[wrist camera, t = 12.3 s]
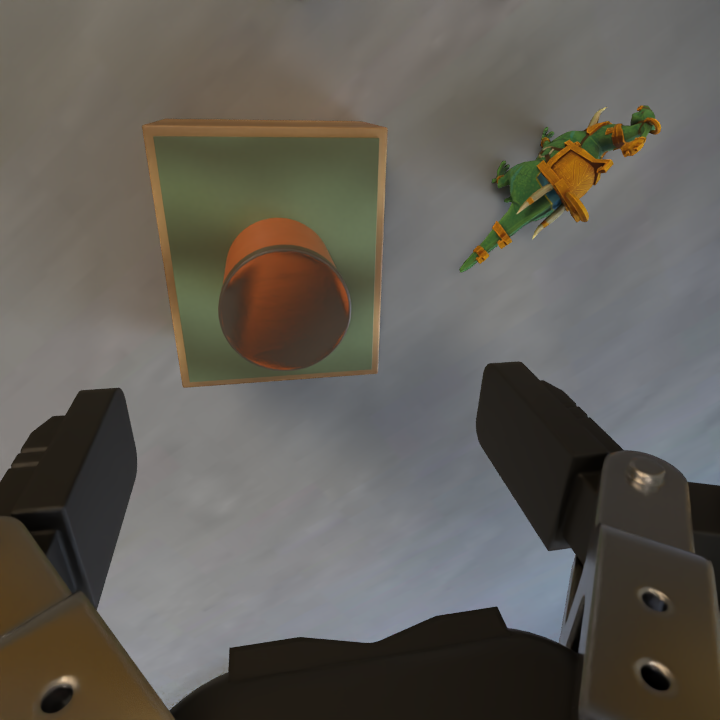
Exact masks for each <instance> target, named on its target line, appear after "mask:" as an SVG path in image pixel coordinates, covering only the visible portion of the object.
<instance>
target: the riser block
mask: <svg viewBox="0 0 720 720" xmlns="http://www.w3.org/2000/svg"><path fill="white" fill-rule="evenodd" d="M142 129H143V136H144V142H145V148H146V155H147V161H148V168H149V174H150V180H151V187H152V193H153V199H154V206H155V212H156V219H157V225H158V231H159V238H160V244H161V251H162V257H163V263H164V270H165V276H166V282H167V289H168V295H169V302H170V308H171V314H172V321H173V327H174V334H175V340H176V346H177V353H178V359H179V365H180V372H181V378H182V385H183V387H184V388H185V387H199V386H213V385H227V384H240V383H254V382H268V381H282V380H295V379H309V378H323V377H337V376H350V375H364V374H377V373H378V360H379V334H380V309H381V283H382V257H383V232H384V206H385V180H386V155H387V128H386V127H382V126H378V125H374V124H370V123H366V122H362V121H302V120H222V119H163V120H159V121H156V122H152V123H149V124H145V125H143V126H142ZM269 218H286V219H292V220H295V221H298V222H300V223H302V224H304V225H306V226H307V227H309V228H310V229H312V230H313V231H314V232H315V233H316V234H317V235H318V236H319V237H320V238H321V240H322V241H323V243H324V244H325V246H326V248H327V250H328V252H329V254H330V256H331V258H332V260H333V262H334V264H335V266H336V268H337V270H338V272H339V273H340V274H341V276H342V278H343V280H344V282H345V284H346V286H347V289H348V291H349V295H350V300H351V318H350V323H349V327H348V329H347V332H346V334H345V336H344V338H343V340H342V341H341V343H340V344H339V345H338V347H337V348H336V349H335V350H334V351H333V352H332V353H331V354H330V355H329V356H327V357H326V358H325V359H323V360H322V361H320V362H318V363H316V364H315V365H312V366H310V367H307V368H304V369H300V370H295V371H273V370H269V369H264V368H262V367H259V366H256V365H254V364H252V363H250V362H248V361H247V360H245V359H244V358H242V357H241V356H240V355H239V354H238V353H237V352H236V351H235V350H234V349H233V348H232V347H231V346H230V344H229V343H228V341H227V340H226V338H225V336H224V334H223V332H222V329H221V326H220V322H219V317H218V304H219V296H220V292H221V288H222V285H223V279H224V273H225V266H226V259H227V255H228V252H229V249H230V247H231V245H232V243H233V242H234V240H235V239H236V237H237V236H238V235H239V234H240V233H241V232H242V231H243V230H244V229H246V228H247V227H248V226H250V225H252V224H254V223H256V222H258V221H261V220H264V219H269Z"/></svg>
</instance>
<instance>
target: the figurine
mask: <svg viewBox="0 0 720 720" xmlns="http://www.w3.org/2000/svg"><path fill="white" fill-rule="evenodd" d="M605 109H606V107H605V108H603V109H600V110H599V111H598V112H596V114H595V115H594V117H593V118H592V120H591V122H590V124H589V126H588V128H587V129H585V130H584V131H570V132H566V133H565V134H563V135H561V136H559V137H558V138H556V139H555V140H553V141H552V142H550V140H549V138H551V137H552V136H553V135H554V132H550V133H549V134H547V135H546V133H547V131H548V127H546V128H545V129H544V131H543V135H542V138H541V140H542V142H541V145H540V146H542V147H541V148H543V149H542V150H541V152H540V153H539V155H538V157H537V159H536V160H535V161H529V162H523V163H520V164H517V165H516V166H514V167H513V168H511V169H510V170H509V171H507V170H508V169H509V167H510V165H506V166H505V167H504V165H505V164H506V161H503V162H502V163H501V165H500V167H499V168H498V171H497V178H495V179H493V180H492V183H496V182H497V184H498V185H497V186H498V188H501V187H504V186H507V185H510V197H509V198H506V199H505V200H504V202H506V203H508V202H512V204H511V206H510V208H509V210H508V212H507V213H506V214H505V215H504V216H503V217H502V219H501V220H500V221H499V222H497V221H496V223H495V224H494V226H493V227H492V231H491V232H490V233H489V235H488V236H487V237H486V239H485V240H484V241H483V242H482V243H481V244H480V245H479V246H477V247H476V248H475V249H474V250H473V253H472V254H471V255H470V257H469V258H468V259H467V260H466V261H465V262H464V264H463V265H462V266H461V268H460V269H459V270H460V272H464V271H466V270H468V269H470V268H471V267H472V266H473V265H474V264H476V263H477V262H478V263H480V264H481V263H482V262H484V261H485V260H486V259H487V258H488V257H489V254H488V253H489V252H490V251H491V250H493V249H494V248H495V247H497V246H498V245H499V247H500V248H501V249H502V248H503V247H505V246H506V245H508V244H509V243H511V242H512V240H511V239H510V237H511V236H512V235H513V234H515V233H516V232H517V231H518V230H519V229H521V228H522V227H523V226H525V225H526V224H528V223H530V222H531V221H537V220H540V219H542V218H544V217H547V216H548V217H547V218H546V219H545V220H544V221H543V222H542V223H541V224H540V225H539V226H538V227H537V229H536V230H535V232H534V236H533V238H534V237H535V236H536V235H537V234H538V233H539V232H540V231H541V230H542V229H543V228H545V227H546V226H548V225H549V224H550V223H552V222H553V221H554V220H555V219H556V218H558V217H559V216H560V215H561V214H562V213H563V212H564V211H565V210H566V211H570V214H571V216H572V217H573V218H574V219H575V221H576V222H578V221H580V220H581V221H582V222H587V221H588V218H589V215H588V212H587V210H586V208H585V207H584V205H583V204H582V203H581V201H580V200H579V199H580V198H581V197H582V196H583V195H585V194H586V192H587V191H588V190H589V189H590V188H591V186H592V185H596V184H597V182H598V181H599V180H600V174H601V173H606V172H607V171H608V169H609V168H610V167H611V166H612V165H613V162H612V160H605V159H602V158H603V156H604V155H605V154H606V153H607V152H608V151H610V150H613V149H614V150H616V149H621V150H622V153H623V155H624V157H626V156H633V155H634V154H636V153H637V152H638V151H639V150H640V149H641V148H642V147H643V146H644V143H645V141H646V136H647V135H648V133H651V134H654V135H656V134H658V133H660V130H661V125H660V123H659V122H658V121H657V120H656V119H655V115H654V113H653V112H652V110H651V109H650V108H649V106H640V107H638V108H637V111H639V110H640V111H639V112H636V113H634V114H632V119H631V126H623V125H622V124H612V123H610V122H609V121H606V122H602V123H598V120H599V116H600V114H601V113H602V112H603V111H604V110H605ZM597 123H598V124H597ZM654 129H656V130H654ZM639 136H640V137H639ZM614 150H613V151H614ZM503 167H504V168H503ZM506 171H507V172H506ZM532 240H533V239H532Z"/></svg>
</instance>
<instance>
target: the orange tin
mask: <svg viewBox="0 0 720 720" xmlns="http://www.w3.org/2000/svg"><path fill="white" fill-rule="evenodd" d="M218 317H219V322H220V326H221V329H222V332H223V334H224V336H225V338H226V340H227V341H228V343H229V344H230V346H231V347H232V348H233V349H234V350H235V351H236V352H237V353H238V354H239V355H240V356H241V357H242V358H244V359H245V360H247V361H248V362H250V363H252V364H254V365H256V366H259V367H262V368H264V369H269V370H273V371H295V370H300V369H304V368H307V367H310V366H312V365H315V364H316V363H318V362H320V361H322V360H323V359H325V358H326V357H327V356H329V355H330V354H331V353H332V352H333V351H334V350H335V349H336V348H337V347H338V345H339V344H340V343H341V341H342V340H343V338H344V336H345V334H346V332H347V329H348V327H349V323H350V318H351V300H350V295H349V291H348V289H347V286H346V284H345V282H344V280H343V278H342V276H341V274H340V273H339V272H338V270H337V268H336V266H335V264H334V262H333V260H332V258H331V256H330V254H329V252H328V250H327V248H326V246H325V244H324V243H323V241H322V240H321V238H320V237H319V236H318V235H317V234H316V233H315V232H314V231H313V230H312V229H310V228H309V227H307V226H306V225H304V224H302V223H300V222H298V221H295V220H292V219H286V218H269V219H264V220H261V221H258V222H256V223H254V224H252V225H250V226H248V227H247V228H246V229H244V230H243V231H242V232H241V233H240V234H239V235H238V236H237V237H236V239H235V240H234V242H233V243H232V245H231V247H230V249H229V252H228V255H227V259H226V266H225V273H224V279H223V285H222V288H221V292H220V296H219V304H218Z"/></svg>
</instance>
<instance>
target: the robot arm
mask: <svg viewBox="0 0 720 720" xmlns="http://www.w3.org/2000/svg"><path fill="white" fill-rule="evenodd" d="M476 431H477V436H478V440H479V443H480V445H481V447H482V448H483V450H484V451H485V453H486V455H487V456H488V458H489V459H490V461H491V462H492V464H493V466H494V467H495V469H496V470H497V472H498V473H499V475H500V476H501V478H502V480H503V481H504V483H505V484H506V486H507V487H508V489H509V490H510V492H511V494H512V495H513V497H514V498H515V500H516V501H517V503H518V505H519V506H520V508H521V509H522V511H523V512H524V514H525V515H526V517H527V519H528V520H529V522H530V523H531V525H532V526H533V528H534V530H535V531H536V533H537V534H538V536H539V537H540V539H541V540H542V542H543V544H544V545H545V547H546V548H547V550H548V551H553V550H560V549H567V548H572V550H573V551H574V553H575V554H576V555H575V558H574V562H573V565H572V569H571V575H570V581H569V586H568V592H567V598H566V604H565V610H564V616H563V621H562V627H561V633H560V639H559V643H557V642H555V641H553V640H550V639H548V638H546V637H543V636H540V635H536V634H533V633H530V632H526V631H521V630H517V629H510V628H507V626H506V624H505V622H504V620H503V618H502V616H501V614H500V612H499V610H498V607H491V608H485V609H478V610H472V611H465V612H459V613H452V614H446V615H439V616H435V617H433V618H430V619H428V620H426V621H423V622H421V623H419V624H417V625H414V626H412V627H410V628H408V629H405V630H403V631H401V632H399V633H396V634H394V635H392V636H390V637H387V638H385V639H383V640H380V641H378V642H374V643H360V642H349V641H338V640H326V639H315V638H304V637H297V638H291V639H285V640H278V641H272V642H265V643H259V644H252V645H246V646H239V647H233V648H230V650H229V672H228V673H226V674H223V675H221V676H219V677H216V678H214V679H213V680H211V681H209V682H207V683H206V684H204V685H202V686H200V687H199V688H197V689H196V690H194V691H193V692H192V693H190V694H189V695H187V696H186V697H185V698H183V699H182V700H181V701H180V702H179V703H177V704H176V705H175V706H174V707H173V708H172V709H170V710H168V709H167V707H166V706H165V704H164V703H163V702H162V700H161V699H160V698H159V696H158V695H157V693H156V692H155V691H154V689H153V688H152V687H151V685H150V684H149V682H148V681H147V680H146V678H145V677H144V675H143V674H142V673H141V671H140V670H139V669H138V667H137V666H136V664H135V663H134V662H133V660H132V659H131V658H130V656H129V655H128V653H127V652H126V651H125V649H124V648H123V646H122V645H121V644H120V642H119V641H118V640H117V638H116V637H115V635H114V634H113V633H112V631H111V630H110V629H109V627H108V626H107V624H106V623H105V622H104V620H103V619H102V617H101V616H100V615H99V613H98V612H97V607H98V604H99V600H100V597H101V594H102V590H103V587H104V583H105V580H106V577H107V573H108V570H109V567H110V563H111V560H112V556H113V553H114V550H115V546H116V543H117V539H118V536H119V533H120V529H121V526H122V522H123V519H124V516H125V512H126V509H127V505H128V502H129V499H130V495H131V492H132V489H133V485H134V482H135V478H136V472H137V453H136V447H135V442H134V437H133V433H132V428H131V423H130V419H129V414H128V410H127V405H126V400H125V396H124V393H123V391H122V390H121V389H120V388H109V389H94V390H81V391H79V393H78V394H77V396H76V398H75V399H74V401H73V403H72V405H71V406H70V408H69V410H68V412H67V413H66V415H65V416H53V417H51V418H50V419H49V420H47V421H46V422H45V423H43V424H42V425H41V426H39V427H38V428H37V429H36V430H34V431H33V432H32V433H31V434H30V436H29V437H28V439H27V441H26V442H25V444H24V445H23V447H22V449H21V453H20V454H18V455H17V456H16V458H15V460H14V461H13V463H12V464H11V469H8V471H7V472H6V474H5V475H4V477H3V478H2V480H1V482H0V720H720V486H717V485H709V484H701V483H693V482H687V480H686V478H685V477H684V476H683V474H682V473H681V472H680V471H679V470H678V469H676V468H675V467H674V466H673V465H671V464H669V463H668V462H666V461H664V460H662V459H660V458H658V457H655V456H653V455H650V454H647V453H643V452H638V451H628V450H623V449H622V448H621V447H620V446H619V445H618V444H617V443H616V442H615V441H614V440H613V439H612V438H611V437H610V436H609V435H608V434H607V433H606V432H605V431H603V430H602V429H601V428H600V427H599V426H598V425H597V424H596V423H595V422H594V421H593V420H592V419H591V418H590V417H589V418H588V417H587V414H586V413H585V412H584V411H583V410H582V409H581V408H580V407H577V406H576V403H575V402H574V401H573V400H572V399H571V398H570V397H569V396H568V395H567V394H566V393H565V392H563V391H562V390H560V389H558V388H556V387H555V386H553V385H551V384H549V383H547V382H545V381H544V380H541V381H540V380H539V379H538V378H537V377H536V376H535V375H534V374H533V373H532V372H531V371H530V370H529V369H528V368H527V367H526V366H525V365H524V364H523V363H522V362H504V363H490V364H488V365H487V366H486V367H485V369H484V373H483V379H482V385H481V392H480V398H479V405H478V411H477V418H476Z"/></svg>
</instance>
